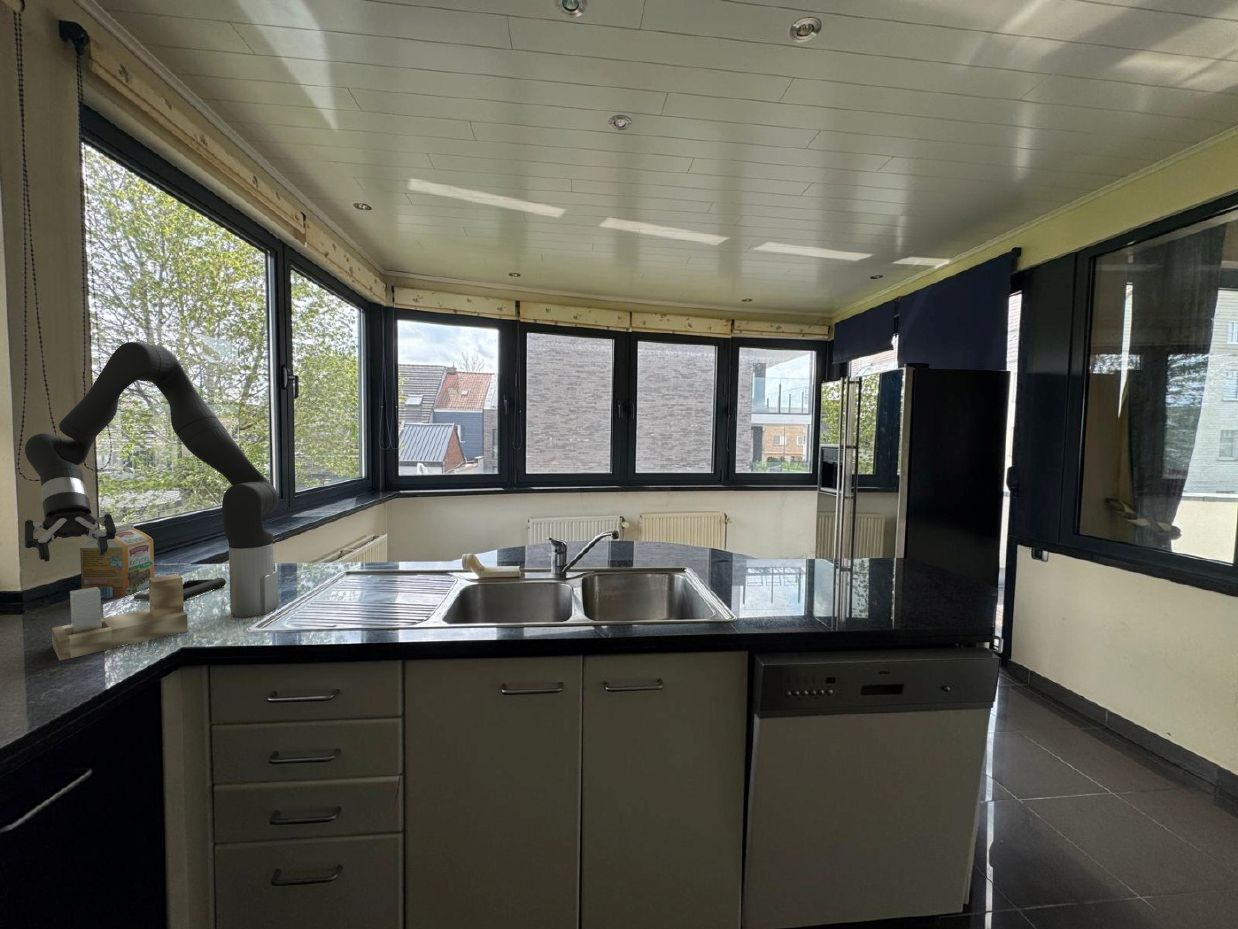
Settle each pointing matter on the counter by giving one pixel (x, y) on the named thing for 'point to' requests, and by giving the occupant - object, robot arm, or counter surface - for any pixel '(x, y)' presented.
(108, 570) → the milk carton
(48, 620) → the counter surface
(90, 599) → the square post
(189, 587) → the door handle
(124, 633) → the post base
